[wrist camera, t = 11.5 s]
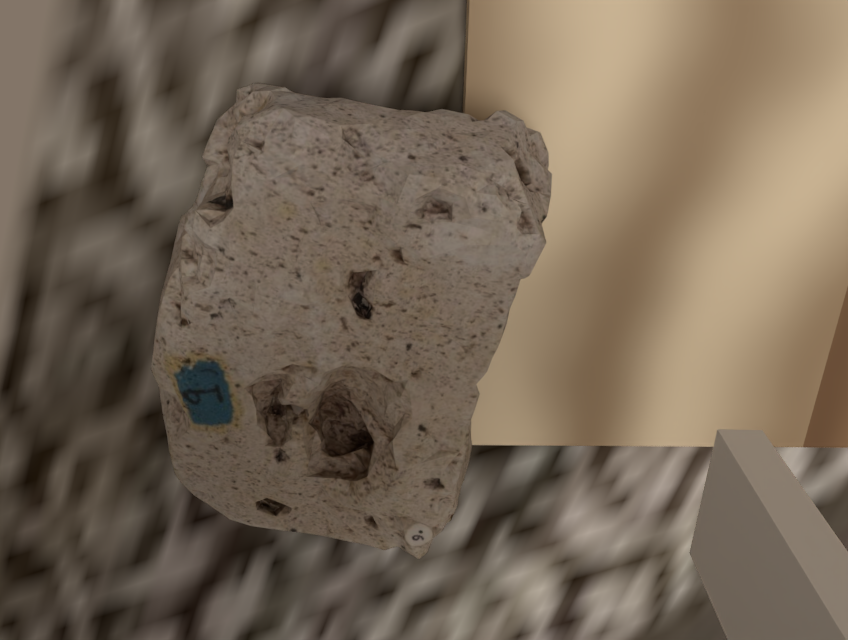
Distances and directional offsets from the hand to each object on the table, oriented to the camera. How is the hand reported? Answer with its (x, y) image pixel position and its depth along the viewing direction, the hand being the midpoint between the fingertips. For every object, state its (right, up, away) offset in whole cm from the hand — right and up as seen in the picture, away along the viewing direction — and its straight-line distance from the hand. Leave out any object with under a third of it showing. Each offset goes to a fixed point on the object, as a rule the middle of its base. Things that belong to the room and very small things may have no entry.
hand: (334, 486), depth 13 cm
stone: (0, +4, +9) cm, 9 cm away
